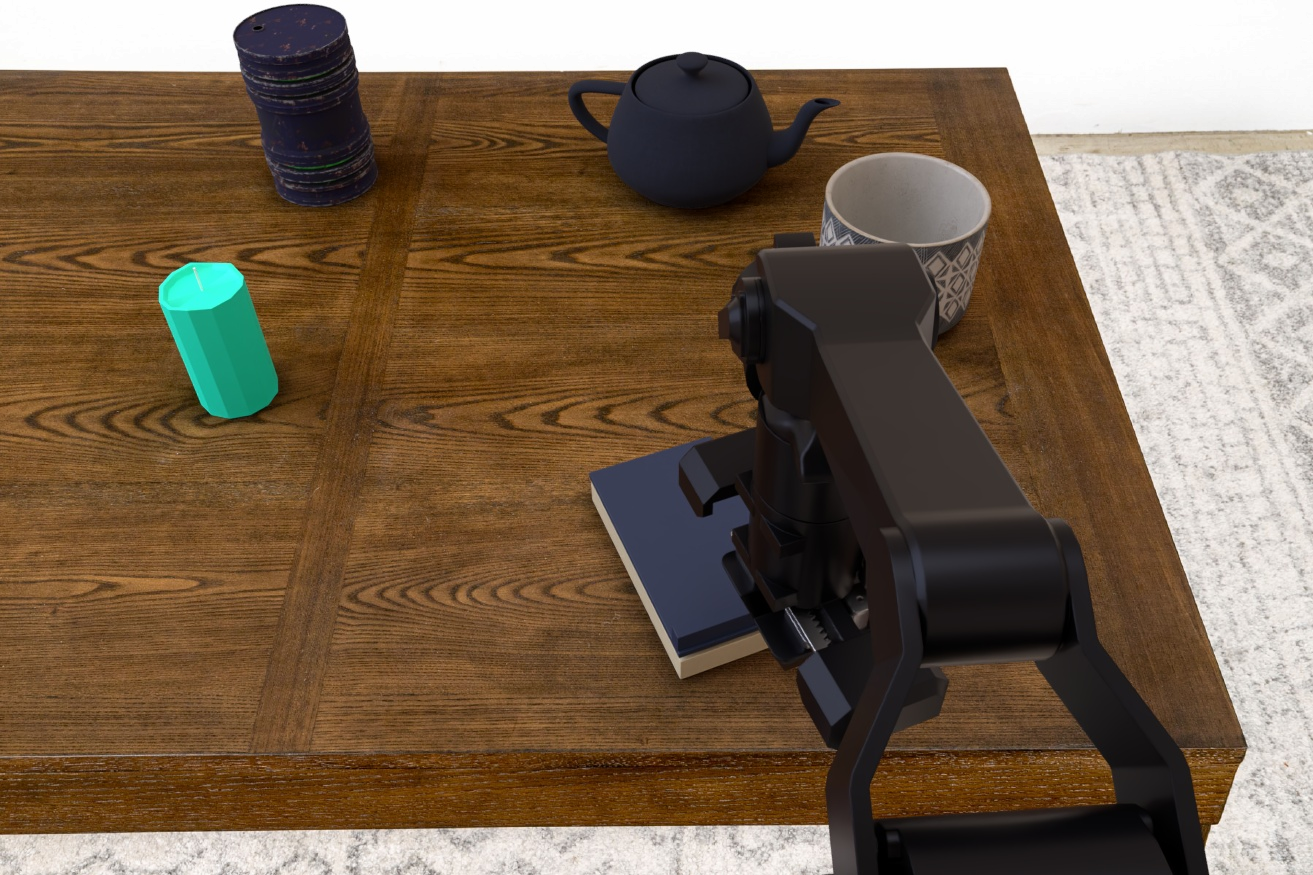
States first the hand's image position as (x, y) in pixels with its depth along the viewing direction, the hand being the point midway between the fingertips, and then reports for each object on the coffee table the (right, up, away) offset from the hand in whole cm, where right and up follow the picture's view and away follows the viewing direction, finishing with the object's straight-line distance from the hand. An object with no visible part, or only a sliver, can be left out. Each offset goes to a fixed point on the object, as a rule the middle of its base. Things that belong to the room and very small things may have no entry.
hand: (789, 663), depth 65 cm
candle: (-40, +16, +25) cm, 50 cm away
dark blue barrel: (-39, +37, +46) cm, 71 cm away
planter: (+12, +24, +32) cm, 42 cm away
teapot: (-3, +37, +45) cm, 59 cm away
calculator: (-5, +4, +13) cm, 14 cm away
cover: (-5, +6, +11) cm, 14 cm away
